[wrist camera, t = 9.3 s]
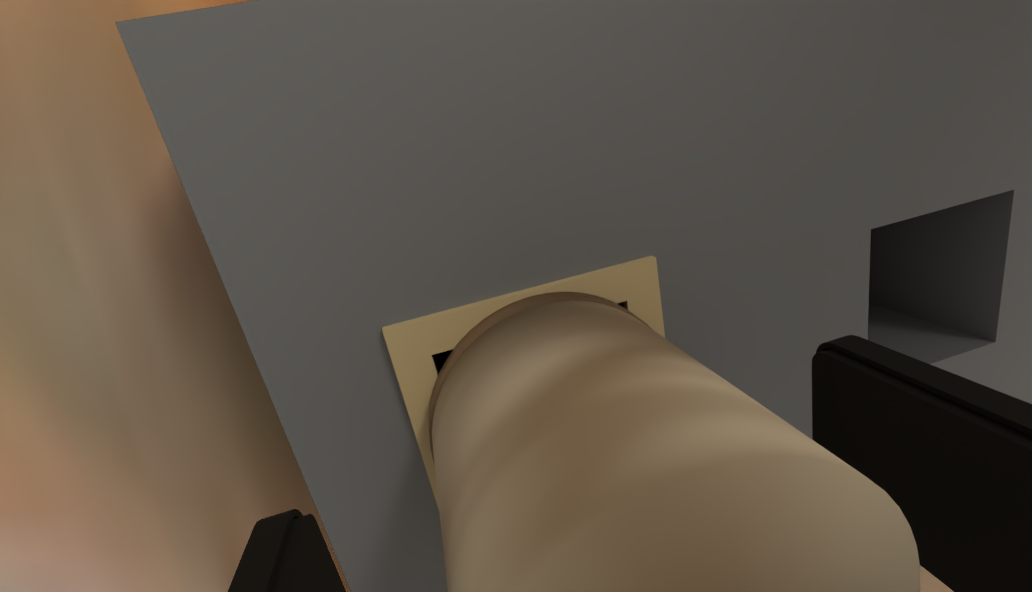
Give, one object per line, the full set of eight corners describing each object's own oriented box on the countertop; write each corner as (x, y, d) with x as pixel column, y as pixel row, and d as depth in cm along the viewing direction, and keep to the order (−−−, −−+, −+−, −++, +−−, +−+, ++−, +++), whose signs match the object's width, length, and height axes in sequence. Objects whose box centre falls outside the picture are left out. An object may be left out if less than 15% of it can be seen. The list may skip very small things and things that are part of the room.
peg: (593, 237, 14) (940, 381, 5) (620, 406, 16) (910, 740, 7) (398, 287, 13) (387, 570, 4) (449, 460, 15) (520, 923, 6)
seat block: (972, -67, 15) (1181, -149, 11) (931, 432, 20) (1059, 498, 16) (210, 67, 11) (107, 18, 7) (413, 619, 17) (416, 759, 13)
